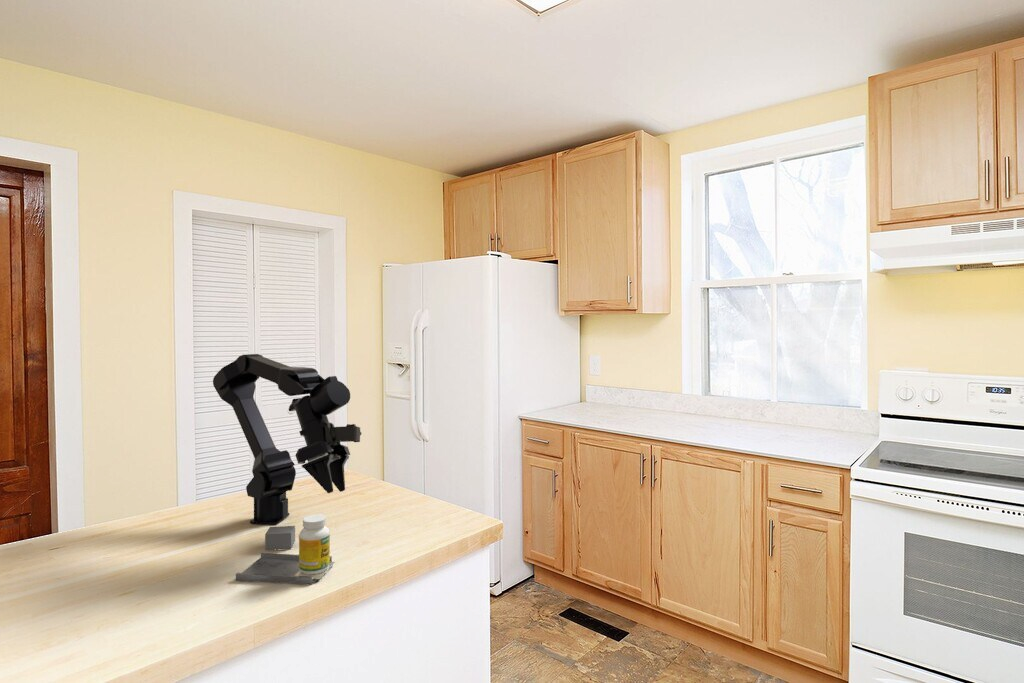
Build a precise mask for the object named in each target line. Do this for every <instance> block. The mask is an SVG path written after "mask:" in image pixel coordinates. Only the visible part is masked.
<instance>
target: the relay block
mask: <svg viewBox="0 0 1024 683" xmlns="http://www.w3.org/2000/svg"><path fill="white" fill-rule="evenodd" d="M294 542H295V543H296V525H285V526H283V525H282V526H270V527H269V528H268V530H266V532H265V534H264V551H265V550H267V551H278V549H285V550H292V549H293V547H294V545H295V543H294ZM293 544H294V545H293ZM292 546H293V547H292ZM291 548H292V549H291ZM275 549H276V550H275Z"/></svg>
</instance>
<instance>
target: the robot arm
mask: <svg viewBox="0 0 1024 683" xmlns="http://www.w3.org/2000/svg"><path fill="white" fill-rule="evenodd" d="M260 378H262V379H264V380H267V381H269V382H271V383H274V384H276V385H277V388H278V390H279V391H280V392H282V393H284V394H285V395H287V396H288V397H294V396H301V395H303V396H302V397H298V398H297V397H296V398H293V399H292V402H291V404H290V405H289V406H288V411H289V412H293V411H294V412H295V413H296V416H297V420H298V422H299V426H300V429H301V430H299V431H298V432H299V435H300V437H303V438H304V442H305V444H306V445H304V446H302V447H300V448H298V449H297V451H296V453H295V458H296V461H297V464H298V465H301V466H300V467H302V468H303V469H304V470H305V471H306V472H307V473H308V474H309V475H310V476H311V477H312V478H313V479H314V480H315V481H316V482H317V483H318V484H319V485H320V486H321V487H322V488H323V490H324V491H325V492H326V493H327V494H331V493H333V492H334V487H333V486H335V488H336V489H337V490H338V491H339V492H340V493H342V492H344V491H345V490H346V480H345V464H346V463H347V461H348V460H349V458H350V456H351V453H350V449H349V447H348V446H346V445H344V444H341V443H342V442H343V443H346V442H353V443H360V442H361V435H362V431H361V427H360V426H357V425H356V424H354V423H352V424H349V423H348V424H346V426H335V425H334V423H332V422H330V421H329V417H328V415H331V414H332V413H334V412H336V411H337V410H339V409H342V407H344V406H346V405H347V404H349V402H350V399H351V391H350V389H349V388H348V387H347V385H345V383H343V382H342V381H340V380H338V378H337V375H332V376H327V377H325V378H324V377H322V376H321V375H320V374H319V373H318V371H317V369H315V368H313V367H305V366H304V367H303V366H300V367H299V366H289V365H287V364H284V363H281V362H278V361H277V360H276V361H275V360H273V359H270V358H267V357H264V356H263V355H262V354H259V353H247V354H245V353H244V354H241V355H239V356H238V357H237V358H236V359H235V360H234V361H232V362H231V363H229V364H228V363H227V365H225V366H223V367H222V368H220V369H219V371H217V373H216V374H215V375H214V376H213V378H212V385H213V387H214V389H215V390H216V392H217V394H218V396H219V398H220V399H221V400H223V402H226V403H227V404H228V405H230V406H231V407H232V409H233V411H234V414H235V416H236V418H237V420H238V423H239V425H240V427H241V430H242V432H243V434H244V437H245V438H246V442H247V444H248V445H249V448H250V451H251V453H252V455H253V458H254V460H253V465H252V468H251V472H252V476H253V477H252V479H251V480H250V481H249V482H248V484H247V485H246V487H245V490H246V494H247V497H250V498H253V518H252V519H250V520H249V523H250V524H259V525H261V524H262V525H263V524H264V525H278V524H280V523H281V522H282V521H284V520H285V519H286V518H287V517H289V516H290V512H289V499H288V497H287V492H291V491H292V490H293V487H294V483H295V480H296V474H297V472H296V468H295V463H294V462H293V460H292V458H291V455H290V452H289V451H288V450H286V449H285V450H279V449H278V448H277V447H276V445H275V442H274V441H273V439H272V436H271V434H270V431H269V430H268V426H267V425H266V423H265V420H264V418H263V416H262V413H261V412H260V408H259V407H258V405H257V403H256V401H255V400H256V399H255V397H254V394H255V391H256V382H257V381H258V380H259V379H260ZM306 461H307V462H306Z"/></svg>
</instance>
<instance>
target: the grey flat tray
mask: <svg viewBox="0 0 1024 683" xmlns="http://www.w3.org/2000/svg"><path fill="white" fill-rule="evenodd" d="M335 563H336V562H335V561H333V557H332V556H331V555H330V563H329V568H328V569H327V570H326V571H324V572H322V573H319V574H312V575H307V574H303V573H302V572H301V571H300V570H299V554H290V553H271V552H270V553H269V552H268V553H267V552H261V553H260V557H259V558H258V559H257V560H256V561H255V562H253V563H252V564H250V565H249V566H248V567H247V568H245V570H243V571H242V572H236V573H235V581H236V580H243V581H242V582H254V581H257V583H259V582H260V583H273V582H274V583H276V584H278V583H279V584H292V585H293V584H295V585H296V584H297V585H313V584H314V583H315V581H316V580H320V579H322V578H323V577H324V575H325V574H326V573H327V572H328V571H329V570H330V569H331V567H332V566H333V565H334V564H335ZM258 581H259V582H258Z"/></svg>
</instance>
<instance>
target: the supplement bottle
mask: <svg viewBox="0 0 1024 683" xmlns="http://www.w3.org/2000/svg"><path fill="white" fill-rule="evenodd" d="M326 524H327V517H326V516H325V515H324V514H310V515H307V516H305V517H303V518H302V527H303V528H302V529H301V530H300V532H299V534H298V555H299V570H300V571H301V572H302V573H303V574H307V575H312V574H319V573H322V572H324V571H326V570H327V569H328V568H329V563H330V556H331V555H330V551H331V550H330V536H331V535H330V534H331V533H330V529H329V527H327V525H326ZM329 569H330V568H329Z"/></svg>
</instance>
